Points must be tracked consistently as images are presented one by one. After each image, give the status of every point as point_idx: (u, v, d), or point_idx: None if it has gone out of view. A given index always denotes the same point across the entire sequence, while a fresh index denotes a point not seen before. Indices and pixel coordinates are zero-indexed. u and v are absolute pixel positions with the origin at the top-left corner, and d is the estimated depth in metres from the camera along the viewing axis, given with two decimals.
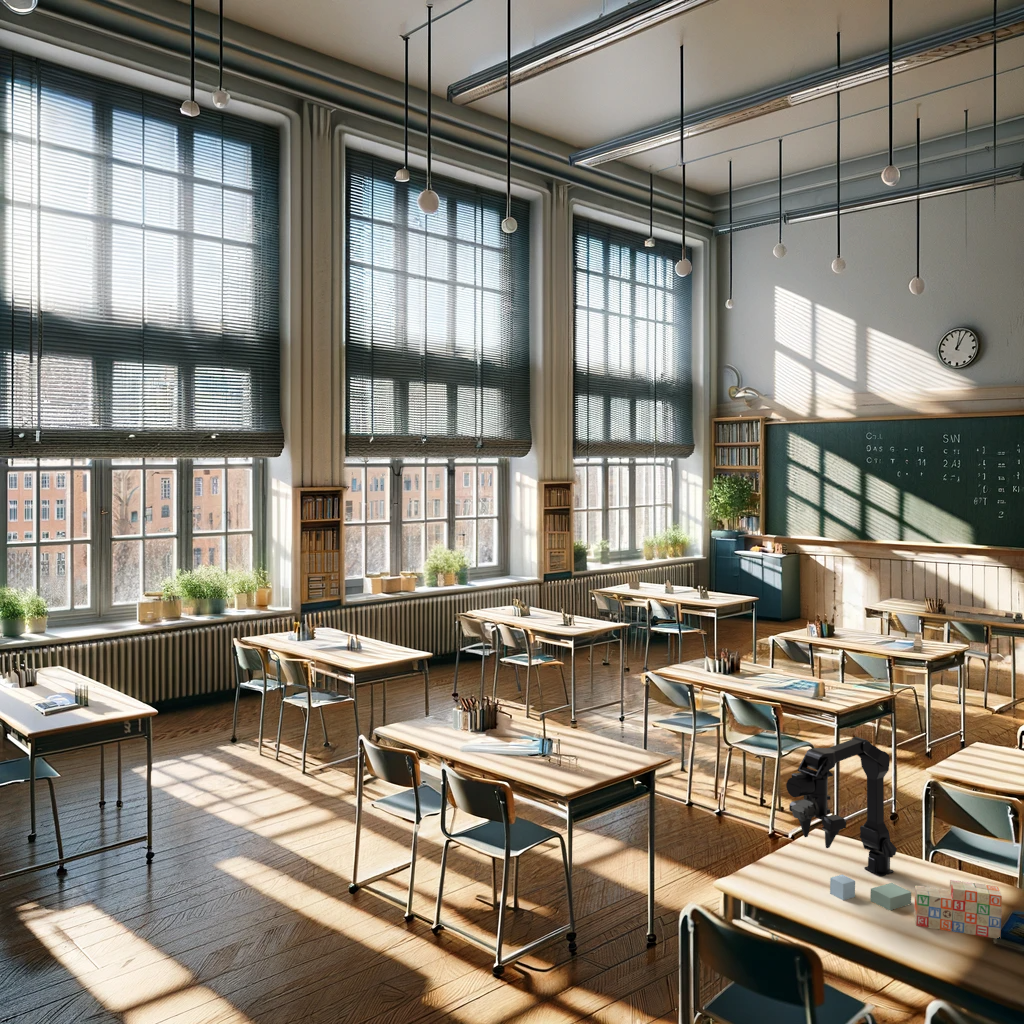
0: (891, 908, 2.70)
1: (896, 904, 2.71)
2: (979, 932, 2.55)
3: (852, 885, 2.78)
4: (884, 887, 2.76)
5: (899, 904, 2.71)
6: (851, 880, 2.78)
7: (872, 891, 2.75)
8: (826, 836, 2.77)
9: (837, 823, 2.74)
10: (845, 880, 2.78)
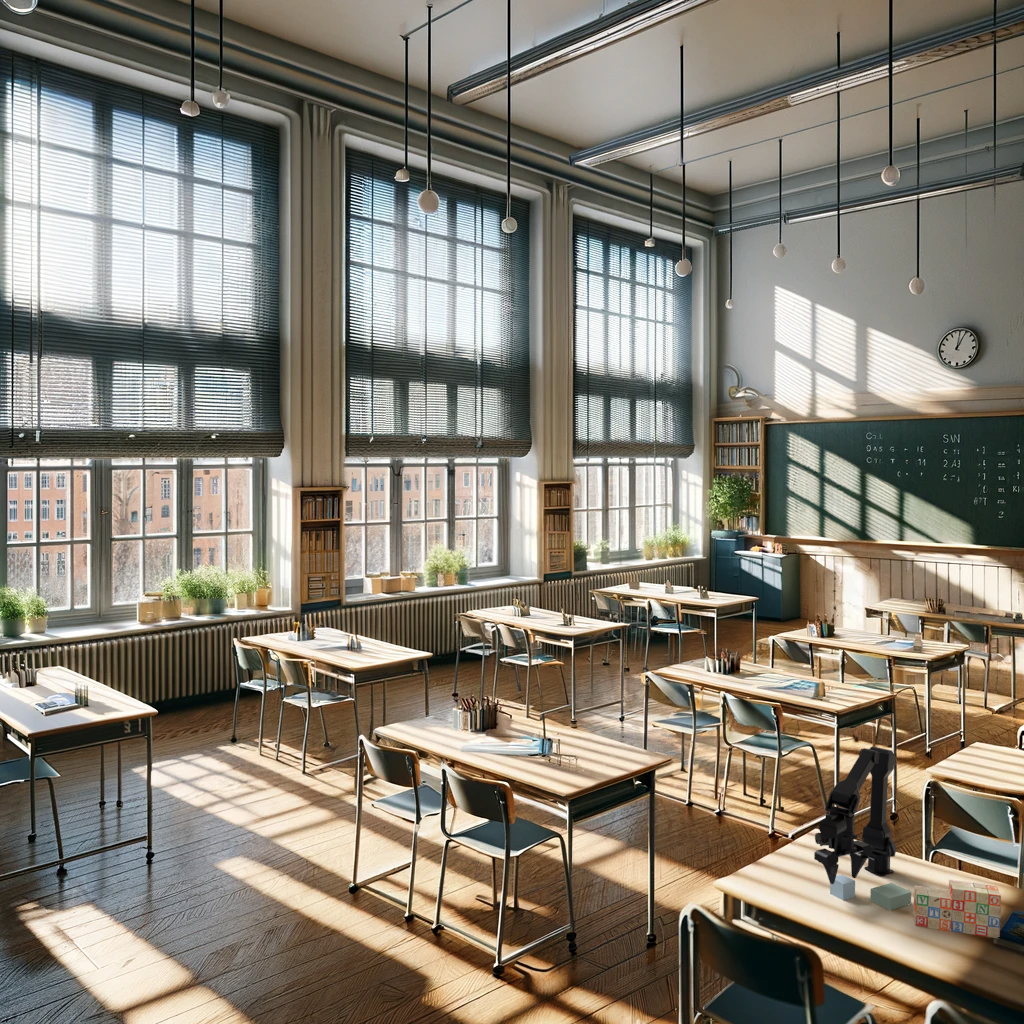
0: (891, 908, 2.70)
1: (896, 904, 2.71)
2: (978, 932, 2.55)
3: (852, 885, 2.78)
4: (884, 887, 2.76)
5: (899, 904, 2.71)
6: (851, 880, 2.78)
7: (872, 891, 2.75)
8: None
9: (818, 855, 2.75)
10: (845, 880, 2.78)
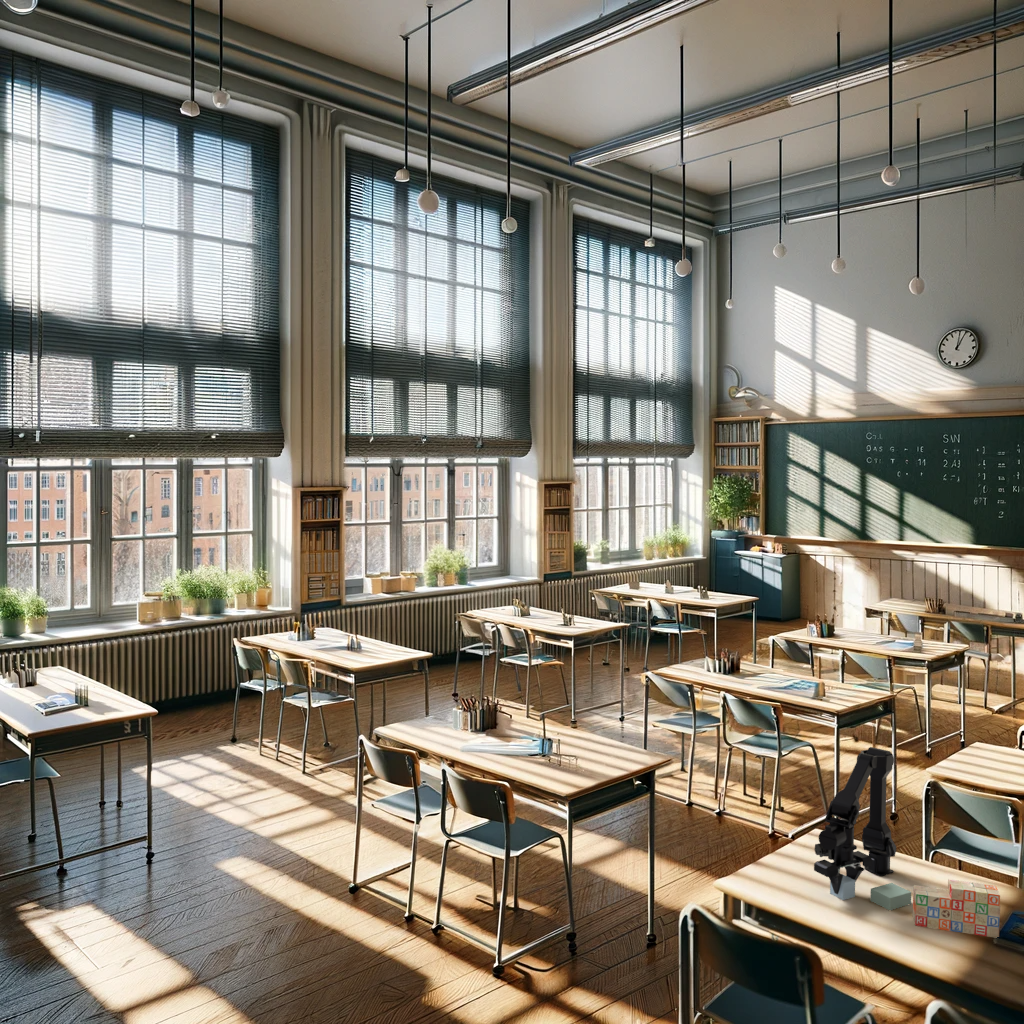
0: (891, 908, 2.70)
1: (896, 904, 2.71)
2: (977, 931, 2.56)
3: (852, 885, 2.78)
4: (884, 887, 2.76)
5: (899, 904, 2.71)
6: (851, 880, 2.78)
7: (872, 891, 2.75)
8: None
9: (818, 866, 2.75)
10: (845, 880, 2.78)
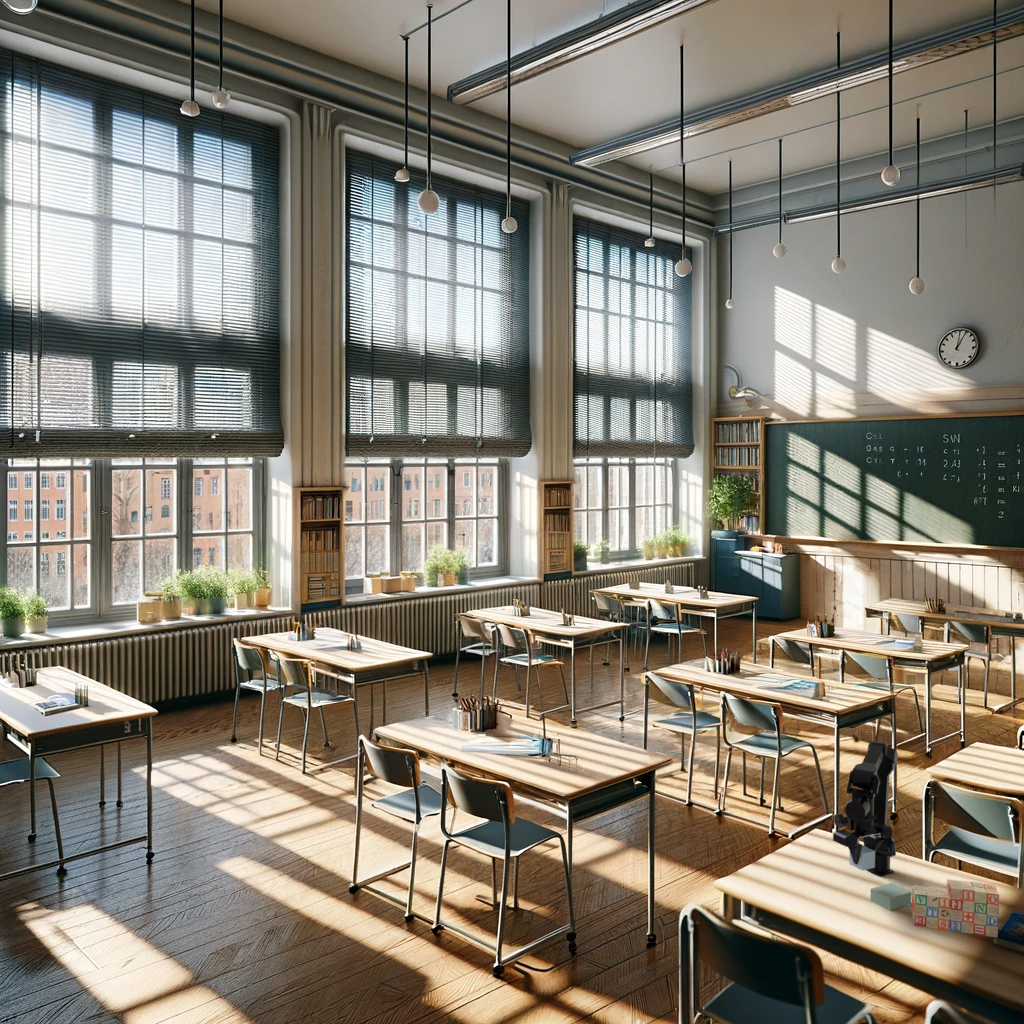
0: (891, 908, 2.70)
1: (896, 904, 2.71)
2: (976, 931, 2.56)
3: (872, 855, 2.76)
4: (884, 887, 2.76)
5: (899, 904, 2.71)
6: (871, 850, 2.76)
7: (872, 891, 2.75)
8: None
9: (837, 836, 2.73)
10: (864, 850, 2.76)
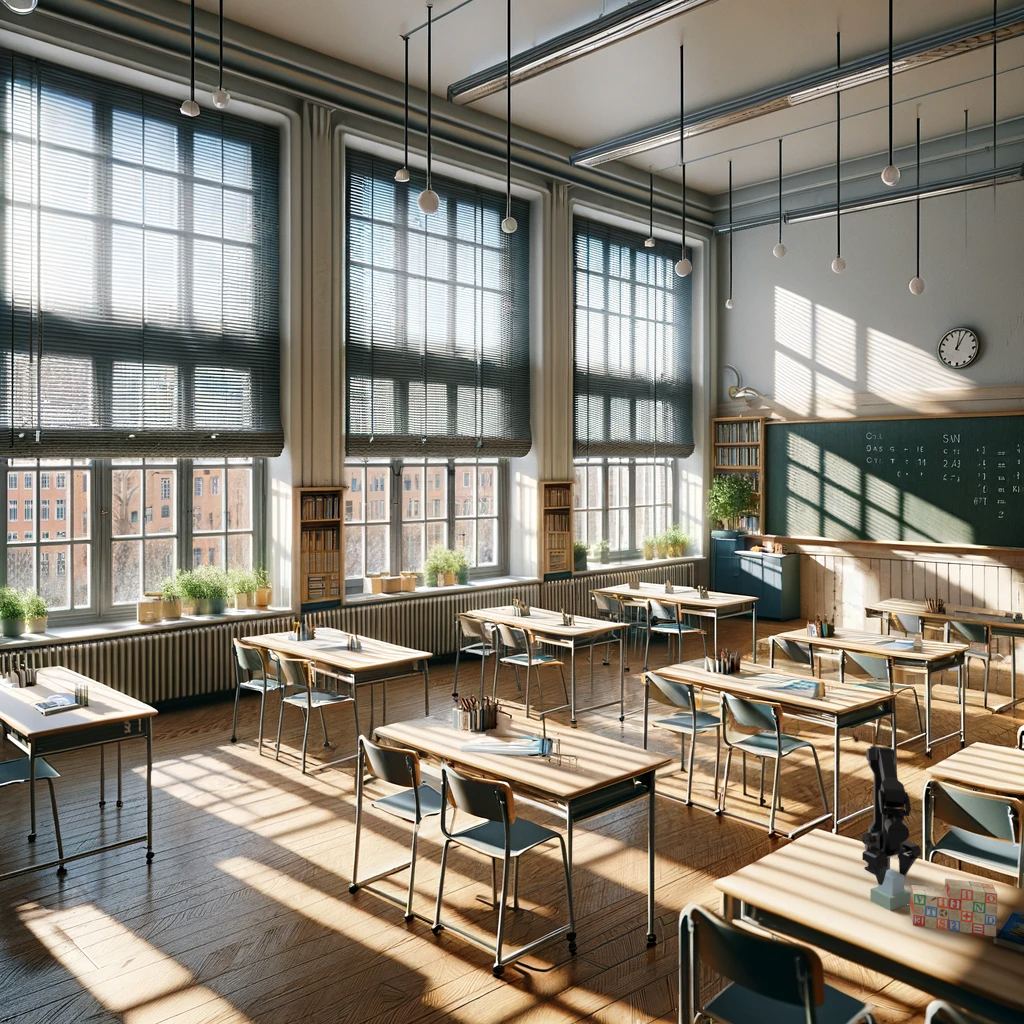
0: (891, 908, 2.70)
1: (896, 904, 2.71)
2: (975, 930, 2.56)
3: (902, 880, 2.73)
4: None
5: (899, 904, 2.71)
6: (900, 875, 2.73)
7: (872, 891, 2.75)
8: None
9: (867, 856, 2.71)
10: (894, 875, 2.73)
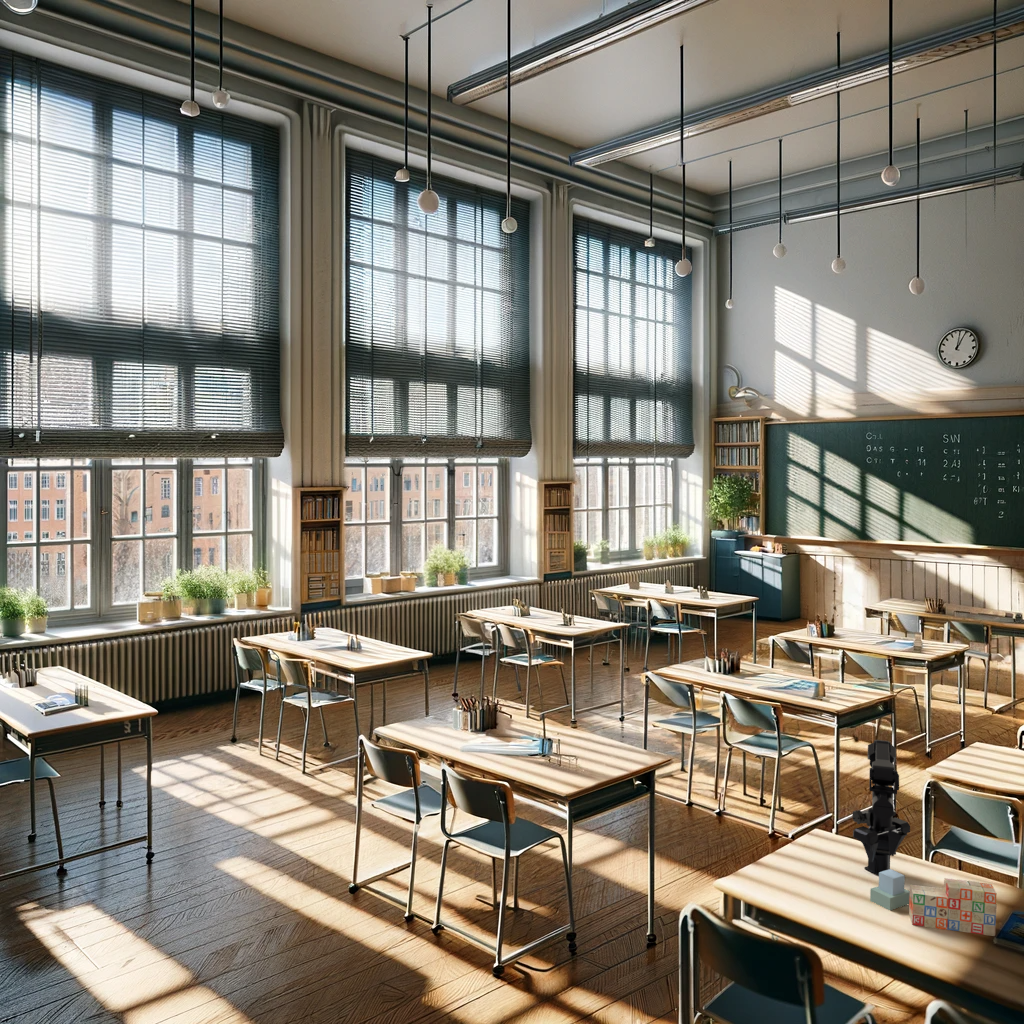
0: (891, 908, 2.70)
1: (896, 904, 2.71)
2: (974, 930, 2.57)
3: (902, 880, 2.73)
4: None
5: (899, 904, 2.71)
6: (900, 875, 2.73)
7: (872, 891, 2.75)
8: None
9: (858, 833, 2.74)
10: (894, 875, 2.73)
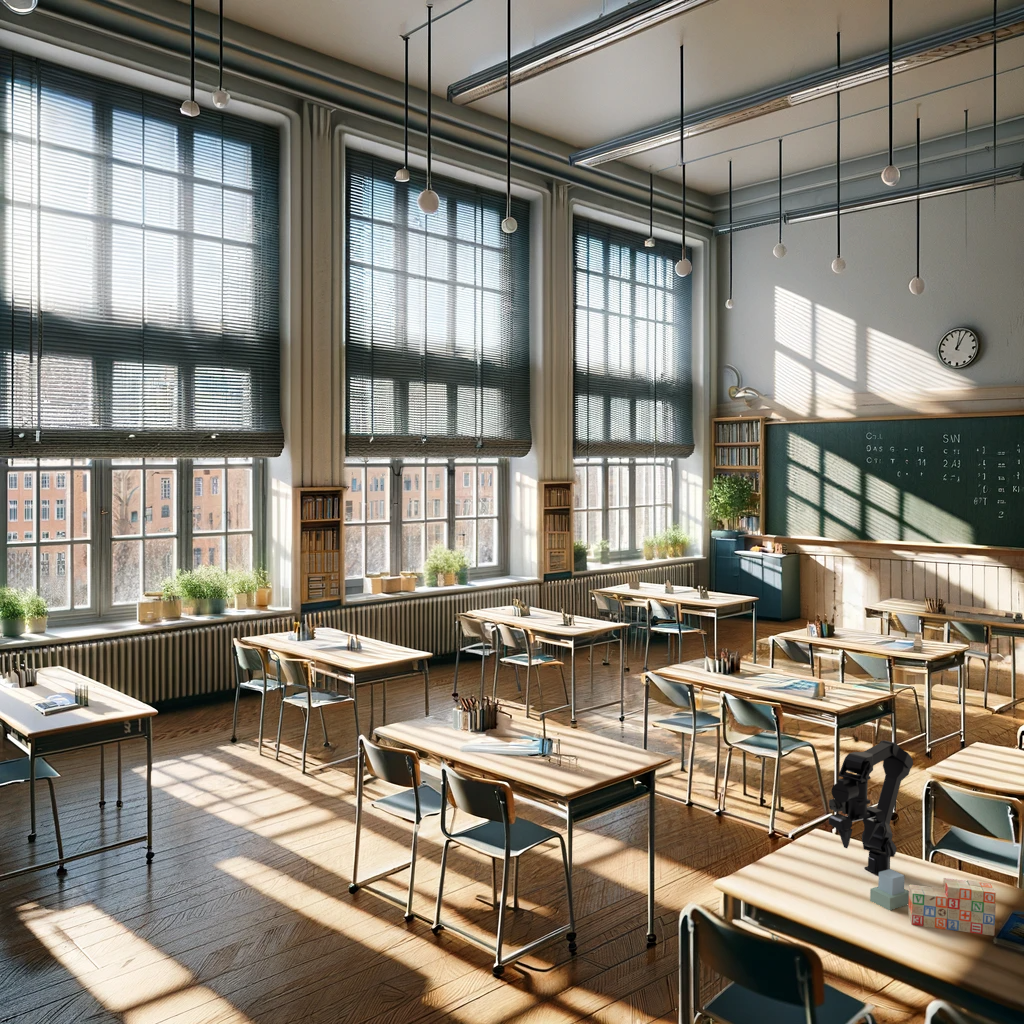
0: (891, 908, 2.70)
1: (896, 904, 2.71)
2: (973, 929, 2.57)
3: (902, 880, 2.73)
4: None
5: (899, 904, 2.71)
6: (900, 875, 2.74)
7: (872, 891, 2.75)
8: None
9: (833, 820, 2.83)
10: (894, 875, 2.73)
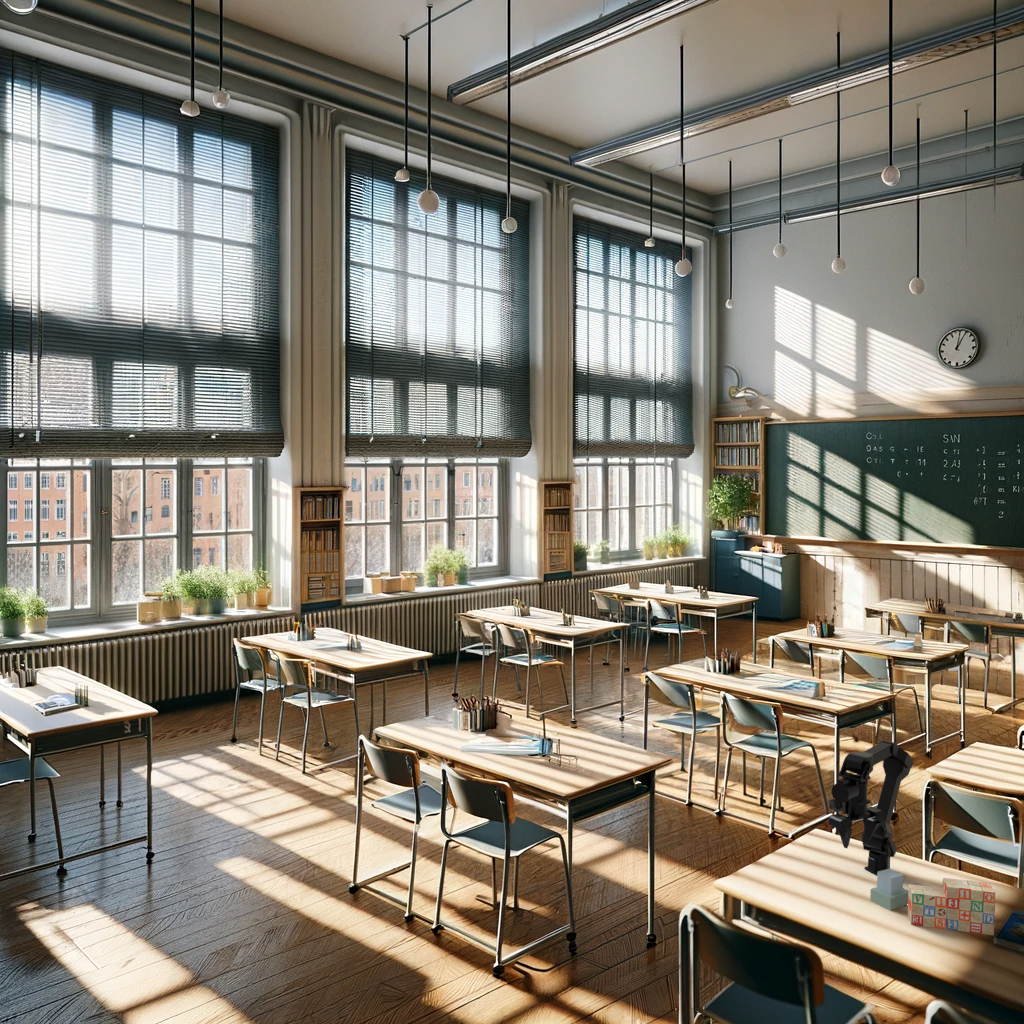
0: (891, 908, 2.70)
1: (896, 904, 2.71)
2: (973, 929, 2.57)
3: (900, 879, 2.73)
4: None
5: (899, 904, 2.71)
6: (899, 874, 2.74)
7: (872, 891, 2.75)
8: None
9: (833, 820, 2.83)
10: (892, 875, 2.74)
